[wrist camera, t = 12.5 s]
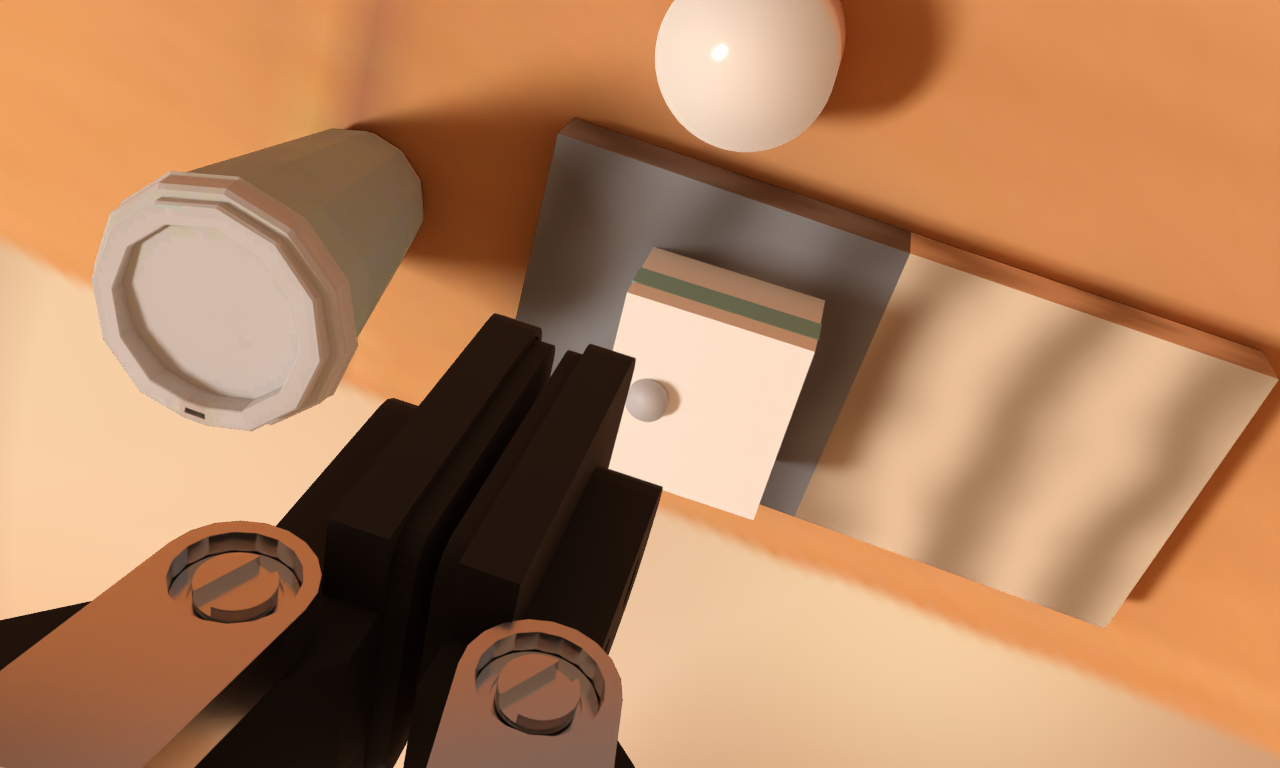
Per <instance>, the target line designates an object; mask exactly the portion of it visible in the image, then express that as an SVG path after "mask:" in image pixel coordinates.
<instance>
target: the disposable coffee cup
mask: <svg viewBox="0 0 1280 768" xmlns="http://www.w3.org/2000/svg"><path fill="white" fill-rule="evenodd" d="M423 212H424V209H423V199H422V189H421V180H420V178H419V177H418V175H417V174H416V172H415V170H414V169H413V167H412V166H411V164H410V163H409V161H408V159H407V158H406V156H405V155H404V153H403V152H402V151H401V150H400V149H398V148H397V147H395V146H393V145H392V144H390V143H389V142H387V141H385V140H384V139H382V138H381V137H379V136H378V135H376V134H374V133H371V132H368V131H359V130H345V129H329V130H326V131H322V132H319V133H316V134H312V135H309V136H306V137H302V138H299V139H295V140H292V141H289V142H285V143H282V144H279V145H275V146H272V147H269V148H265V149H262V150H259V151H255V152H252V153H249V154H245V155H242V156H239V157H235V158H232V159H229V160H225V161H222V162H219V163H215V164H212V165H208V166H205V167H202V168H198V169H195V170H192V171H188V172H176V171H170V172H168V173H167V174H165V175H164V176H162V177H160V178H159V179H157V180H155V181H154V182H152V183H151V184H149V185H147V186H146V187H144V188H143V189H141V190H139V191H138V192H136V193H134V194H133V195H131V196H130V197H128V198H126V199H125V200H123V201H121V204H120V206H119V207H117V208H116V209H115V210H113V211H112V212H110V215H109V219H108V222H107V225H106V228H105V232H104V235H103V238H102V241H101V245H100V248H99V251H98V254H97V258H96V261H95V264H94V270H95V271H94V274H93V276H92V279H91V280H92V285H93V290H94V295H95V300H96V305H97V310H98V315H99V320H100V324H101V329H102V335H103V339H104V341H105V342H106V344H107V345H108V347H109V348H110V349H111V351H112V352H113V354H114V355H115V357H116V358H117V359H118V360H119V362H120V364H121V365H122V366H123V368H124V369H125V371H126V372H127V373H128V375H129V376H130V378H131V379H132V380H133V382H134V383H135V385H136V386H137V387H138V389H139V390H140V392H142V393H143V394H145V395H147V396H149V397H150V398H152V399H154V400H155V401H157V402H159V403H160V404H162V405H164V406H166V407H167V408H169V409H171V410H172V411H174V412H176V413H178V414H179V415H181V416H183V417H184V418H187V419H190V420H193V421H196V422H198V423H201V424H204V425H207V426H214V427H222V428H230V429H238V430H246V431H253V430H255V429H257V428H259V427H261V426H264V425H265V424H269V425H273V424H275V423H277V422H280V421H282V420H284V419H286V418H288V417H291V416H293V415H295V414H297V413H300V412H302V411H304V410H306V409H309V408H310V407H313V406H315V405H317V404H320V403H321V402H322V401H323V400H325V399H326V398H327V397H329V396H331V395H334V393H335V391H336V389H337V387H338V385H339V383H340V381H341V379H342V377H343V375H344V373H345V371H346V369H347V367H348V365H349V363H350V361H351V359H352V357H353V355H354V353H355V351H356V349H357V347H358V342H357V337H358V336H359V334H360V332H361V330H362V329H363V327H364V325H365V324H366V322H367V320H368V318H369V317H370V315H371V313H372V311H373V310H374V308H375V306H376V305H377V303H378V301H379V299H380V298H381V296H382V294H383V292H384V291H385V289H386V287H387V286H388V284H389V282H390V280H391V279H392V277H393V275H394V274H395V272H396V270H397V268H398V267H399V265H400V263H401V261H402V260H403V258H404V256H405V255H406V253H407V251H408V249H409V248H410V246H411V244H412V242H413V240H414V238H415V236H416V234H417V232H418V230H419V228H420V226H421V224H422V222H423V220H424V215H423Z"/></svg>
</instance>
